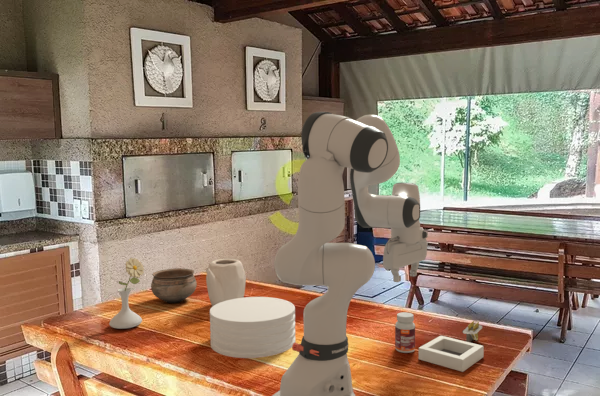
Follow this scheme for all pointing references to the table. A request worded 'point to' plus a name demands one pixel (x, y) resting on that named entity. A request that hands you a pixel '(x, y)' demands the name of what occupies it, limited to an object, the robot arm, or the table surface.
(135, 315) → the flower in vase
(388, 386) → the table surface
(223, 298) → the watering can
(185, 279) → the cooking pot
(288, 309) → the plate stack
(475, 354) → the holder block
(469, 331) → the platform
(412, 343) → the pill bottle
